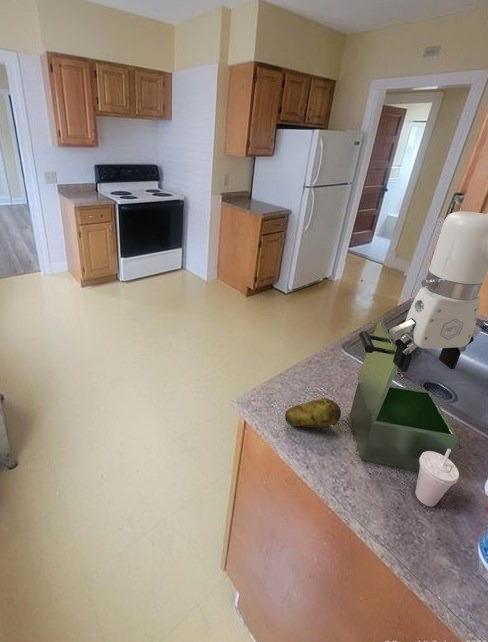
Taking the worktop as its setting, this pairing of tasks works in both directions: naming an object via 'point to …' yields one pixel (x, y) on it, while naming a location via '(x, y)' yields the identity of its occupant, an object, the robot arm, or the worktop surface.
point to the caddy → (401, 428)
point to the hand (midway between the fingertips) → (422, 365)
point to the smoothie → (435, 477)
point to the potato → (314, 413)
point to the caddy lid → (377, 368)
